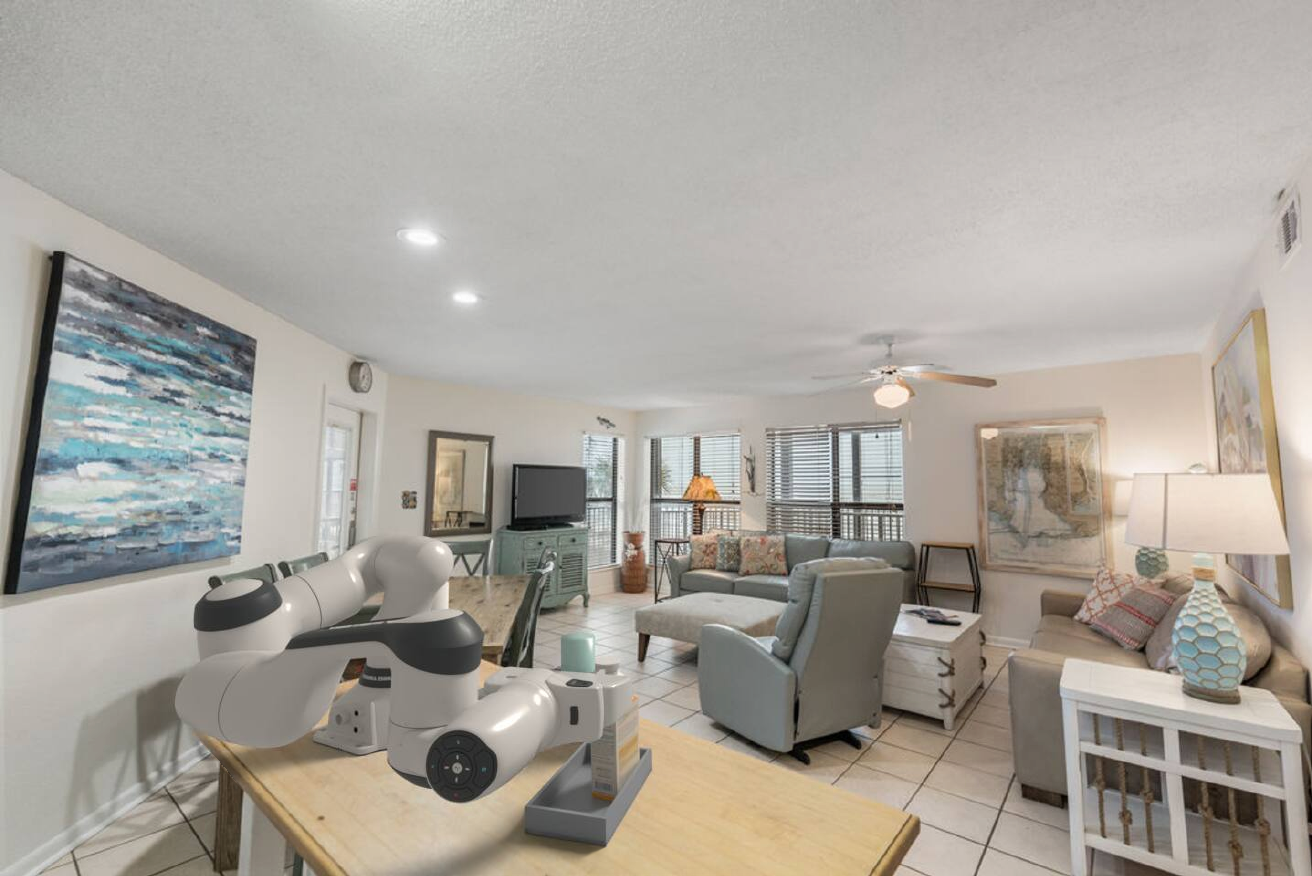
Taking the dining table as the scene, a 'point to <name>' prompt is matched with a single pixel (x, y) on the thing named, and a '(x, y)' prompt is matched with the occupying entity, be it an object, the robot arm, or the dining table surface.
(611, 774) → the supplement box
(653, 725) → the dining table surface
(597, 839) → the tote
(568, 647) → the candle
